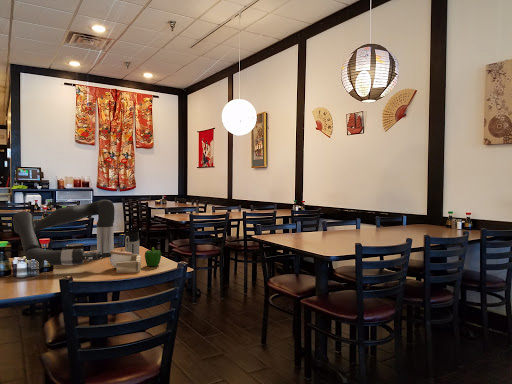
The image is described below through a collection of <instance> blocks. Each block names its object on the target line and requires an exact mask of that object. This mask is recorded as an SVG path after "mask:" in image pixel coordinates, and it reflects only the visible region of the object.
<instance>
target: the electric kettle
mask: <svg viewBox="0 0 512 384" xmlns="http://www.w3.org/2000/svg"><path fill="white" fill-rule="evenodd" d="M124 234H125V235H124V239H125V240H124V251H127V252H131V253H132V255H134V254H140V232H139V231H137V230H132V231H131V230H129V231H125V233H124Z"/></svg>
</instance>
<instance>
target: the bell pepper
mask: <svg viewBox="0 0 512 384" xmlns="http://www.w3.org/2000/svg"><path fill="white" fill-rule="evenodd" d="M144 259H145V260H144V261H145V264H146V266H147V267H157V266H159V264H160V263H161V259H162V252H161V250H160V249H157V250H156V249H155V247H154V246H153V247H152V248H151V250H149V249H148V250H146V251H145V253H144Z"/></svg>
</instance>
